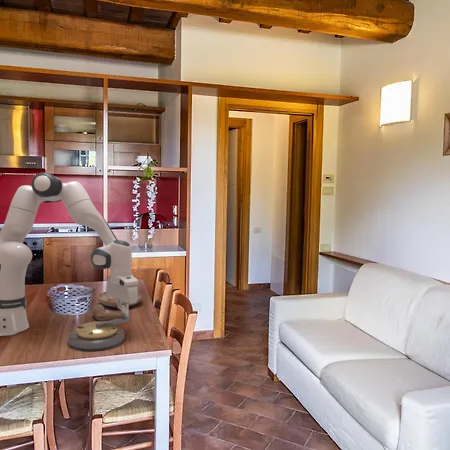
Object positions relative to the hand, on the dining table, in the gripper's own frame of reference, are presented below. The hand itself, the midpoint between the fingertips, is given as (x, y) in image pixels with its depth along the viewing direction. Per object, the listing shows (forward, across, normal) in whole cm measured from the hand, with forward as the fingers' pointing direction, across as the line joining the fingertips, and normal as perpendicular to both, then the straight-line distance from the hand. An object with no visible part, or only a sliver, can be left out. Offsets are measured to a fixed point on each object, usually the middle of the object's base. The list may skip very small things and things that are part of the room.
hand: (120, 309), depth 189 cm
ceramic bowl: (+11, -38, +22) cm, 45 cm away
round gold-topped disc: (+7, +3, -9) cm, 12 cm away
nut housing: (+10, +3, -13) cm, 17 cm away
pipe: (+11, -20, +6) cm, 24 cm away
